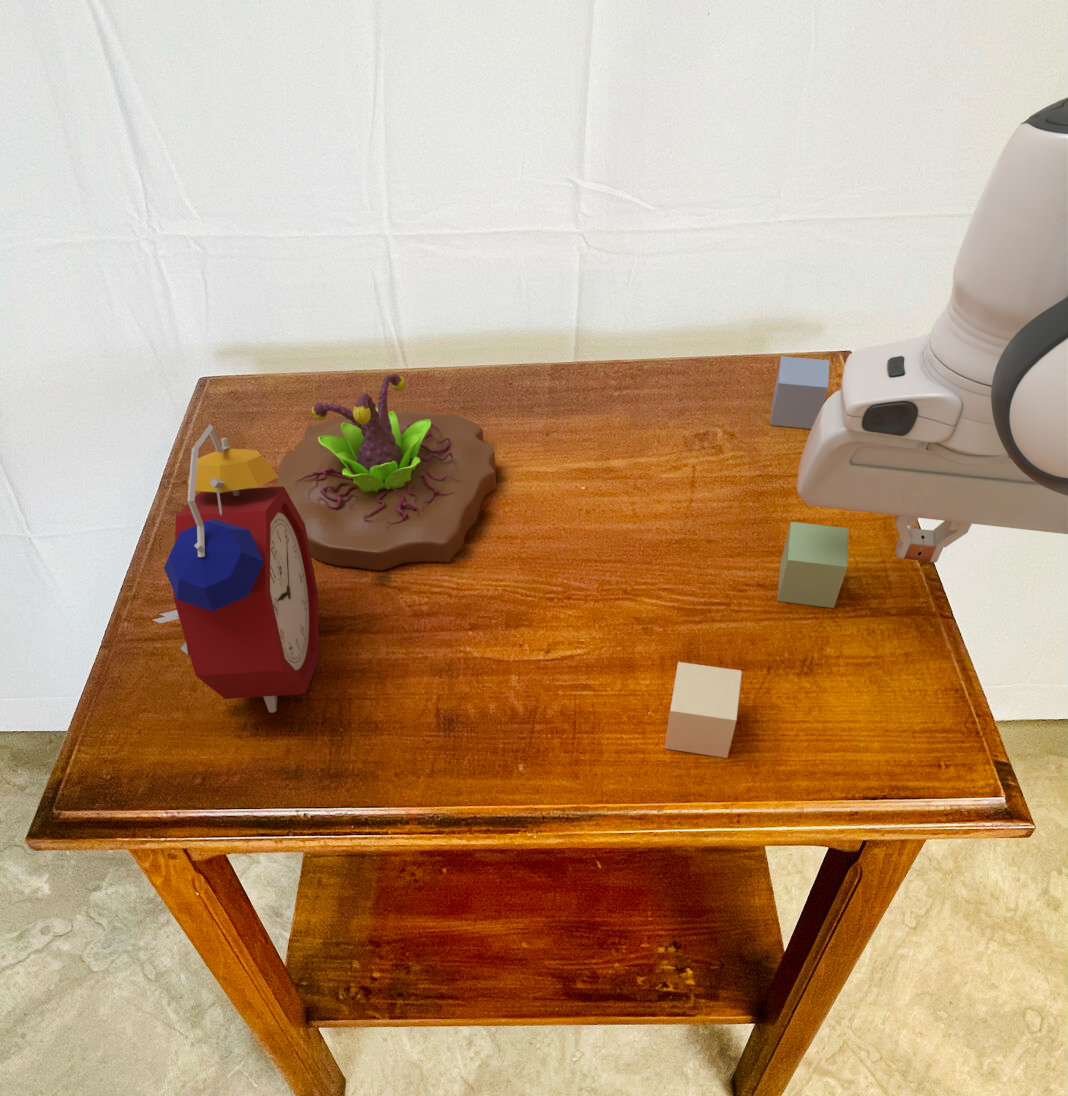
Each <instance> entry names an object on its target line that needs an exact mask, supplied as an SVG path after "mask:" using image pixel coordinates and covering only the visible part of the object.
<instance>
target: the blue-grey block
mask: <svg viewBox="0 0 1068 1096" xmlns="http://www.w3.org/2000/svg"><path fill="white" fill-rule="evenodd" d="M830 362H831V361H830V360H829V359H819V358H807V357H806V358H805V357H796V356H795V357H794V356H783V355H781V356H780V359H779V365H778V369H777V375H776V380H775V385H774V389H773V395H772V402H771V410H770V412H771V413H770V422H769V425H770V426H774V427H775V426H776V427H785V428H786V427H787V428H797V429H805V430H806V429H807V430H811V429H812V427H813V424H814V422H815V420H816V418H817V416H818V413H819V412H820V410H821V408H822V406H823V405H824V403H825V402H826V400H827V399H826V398H827V395H828V391H829V382H830Z"/></svg>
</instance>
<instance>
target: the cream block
mask: <svg viewBox="0 0 1068 1096" xmlns="http://www.w3.org/2000/svg"><path fill="white" fill-rule="evenodd" d="M742 675H743V671H742V670H740V669H733V668H725V667H718V666H711V665H703V664H697V663H690V662H682V661H678V662H677V666H676V671H675V678H674V683H673V689H672V690H673V691H672V697H671V702H670V709H669V716H668V722H667V730H666V735H665V736H666V737H665V741H664V742H665V743H664V749H666V750H672V751H678V752H684V753H690V754H697V755H705V756H711V757H717V758H722V759H723V758H724V759H728V757H729V754H730V753H729V752H730V750H731V745H732V741H733V737H734V734H735V729H736V725H737V721H738V712H739V703H740V694H741V684H742Z"/></svg>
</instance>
